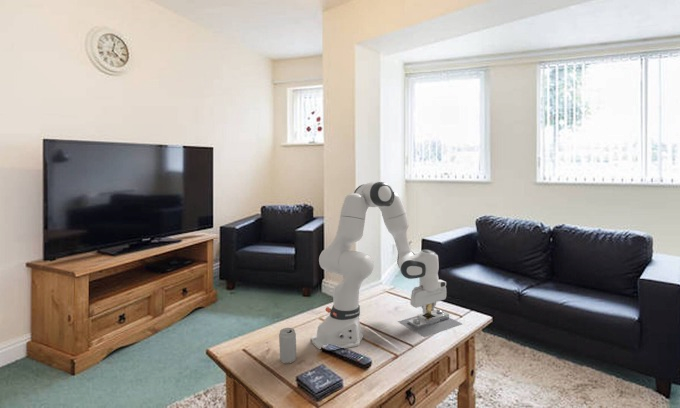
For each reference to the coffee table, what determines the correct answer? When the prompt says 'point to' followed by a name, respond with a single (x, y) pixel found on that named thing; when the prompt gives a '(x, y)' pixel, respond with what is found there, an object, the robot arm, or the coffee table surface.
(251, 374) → the coffee table surface
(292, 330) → the beverage can
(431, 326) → the gray base plate
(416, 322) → the slotted latch plate
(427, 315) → the brass pin
